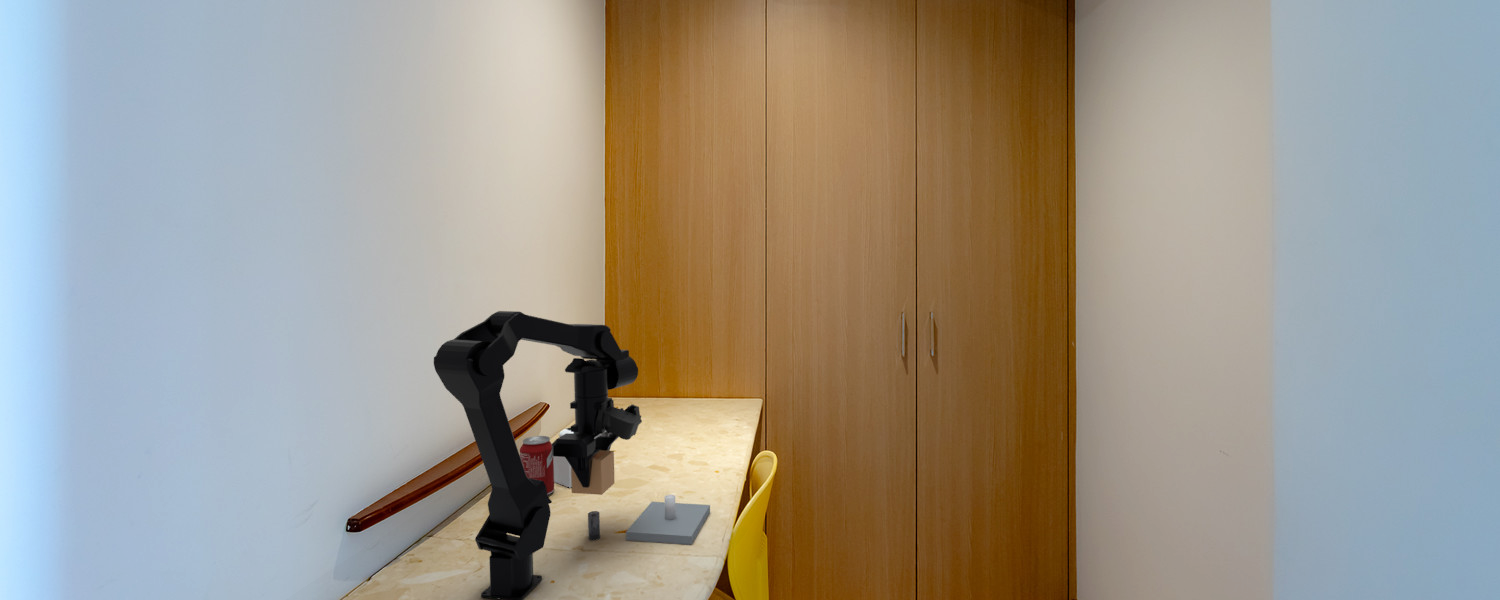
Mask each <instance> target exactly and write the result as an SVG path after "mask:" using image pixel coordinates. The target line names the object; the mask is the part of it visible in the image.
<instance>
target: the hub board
mask: <svg viewBox="0 0 1500 600" xmlns="http://www.w3.org/2000/svg"><path fill="white" fill-rule="evenodd" d="M710 514H711V504H699V503H697V504H696V503H682V502H681V503H680V502H676V495H674V494H667V495H665V496H664V501H651V502H650V503H649V504H648V505H647V507H646V508H645V509H644V510H643V511H642V513H640V514H639V516H638V517H637V518H636V520H635V521H634V522H633V523H632V524H631V525H630V527H629V528H628V529H627V530H626V531H625V541H632V542H645V543H646V542H649V543H663V544H675V545H676V544H677V545H690V546H691V545H692V544H694V541H695V539H696V537H698V534H699V533H700V531H701V530H702V528H703V526H704V523H706V520H707V519H708V517H709V515H710Z"/></svg>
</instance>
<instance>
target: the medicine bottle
mask: <svg viewBox="0 0 1500 600" xmlns="http://www.w3.org/2000/svg"><path fill="white" fill-rule="evenodd" d="M566 433H568V434H578V432H571V427H566V428H564V429H562V430H561V431H560V432H559V437H561V436H563V435H564V434H566ZM559 437H558V438H559ZM553 459H554V483H556V484H558V485H561V486H563V485H564V486H563V487H566V488H568V487H569V489H572V488H571V487H572V485H571V465H570V464H569V462H568V461H567V459H566V458H565V457H557V456H553Z"/></svg>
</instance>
